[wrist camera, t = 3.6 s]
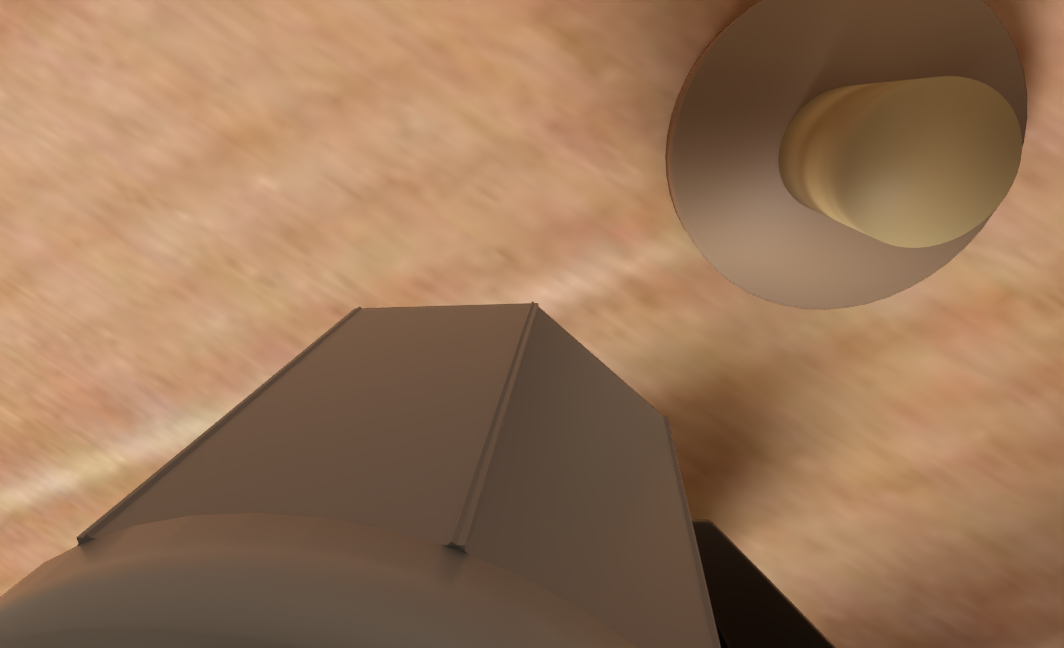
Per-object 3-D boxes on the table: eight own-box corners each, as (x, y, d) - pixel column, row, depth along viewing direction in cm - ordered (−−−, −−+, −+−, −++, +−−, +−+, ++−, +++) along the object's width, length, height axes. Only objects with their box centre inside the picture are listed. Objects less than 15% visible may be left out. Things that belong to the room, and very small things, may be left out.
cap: (676, 657, 9) (767, 1281, 4) (308, 642, 10) (26, 1161, 5) (685, 283, 7) (873, 655, 2) (222, 297, 8) (-390, 606, 3)
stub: (955, 288, 16) (1119, 369, 11) (664, 296, 17) (692, 375, 12) (1014, -40, 13) (1265, -131, 8) (667, -9, 14) (705, -74, 9)
